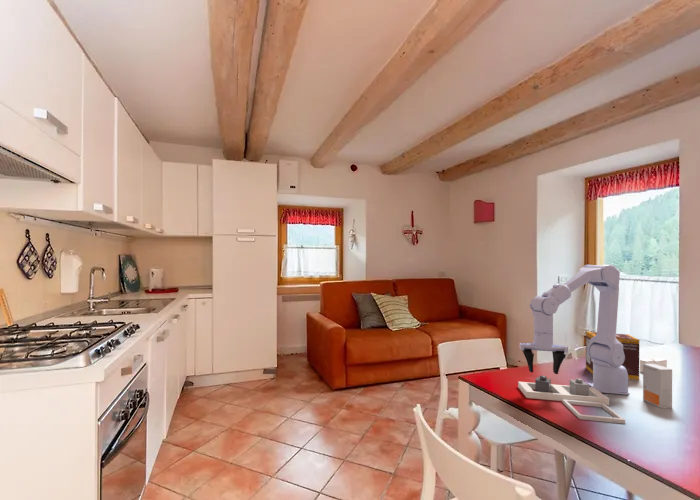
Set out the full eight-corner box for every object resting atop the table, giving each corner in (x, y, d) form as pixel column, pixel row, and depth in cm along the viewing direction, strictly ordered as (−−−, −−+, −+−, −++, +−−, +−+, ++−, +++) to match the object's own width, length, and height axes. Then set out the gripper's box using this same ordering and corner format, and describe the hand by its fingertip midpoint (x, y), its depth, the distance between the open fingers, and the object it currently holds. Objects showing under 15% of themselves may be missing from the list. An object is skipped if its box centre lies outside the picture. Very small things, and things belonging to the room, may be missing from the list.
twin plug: (582, 395, 117) (582, 377, 117) (589, 400, 112) (589, 382, 112) (569, 394, 117) (569, 376, 118) (575, 399, 113) (575, 380, 113)
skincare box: (642, 400, 113) (642, 363, 114) (654, 400, 114) (654, 363, 114) (660, 408, 107) (660, 369, 108) (673, 408, 108) (672, 369, 108)
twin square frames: (593, 393, 118) (593, 387, 118) (608, 405, 109) (608, 398, 109) (518, 387, 123) (518, 381, 123) (526, 397, 113) (526, 391, 114)
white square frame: (603, 406, 108) (603, 403, 108) (625, 423, 97) (625, 419, 97) (562, 402, 110) (562, 399, 110) (579, 418, 99) (579, 415, 99)
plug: (550, 393, 117) (550, 376, 118) (548, 397, 114) (548, 379, 114) (537, 391, 120) (537, 373, 120) (535, 394, 116) (535, 376, 117)
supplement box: (640, 380, 133) (640, 339, 133) (592, 375, 138) (593, 335, 139) (629, 372, 143) (629, 334, 143) (585, 367, 148) (585, 330, 148)
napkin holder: (665, 370, 148) (665, 356, 148) (682, 379, 137) (682, 364, 137) (623, 366, 152) (623, 353, 152) (636, 374, 141) (636, 360, 142)
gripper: (562, 330, 120) (562, 370, 120) (517, 328, 123) (516, 367, 122) (570, 335, 113) (570, 377, 113) (522, 332, 116) (522, 373, 116)
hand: (543, 372), depth 117 cm, fingers open, 7 cm apart
